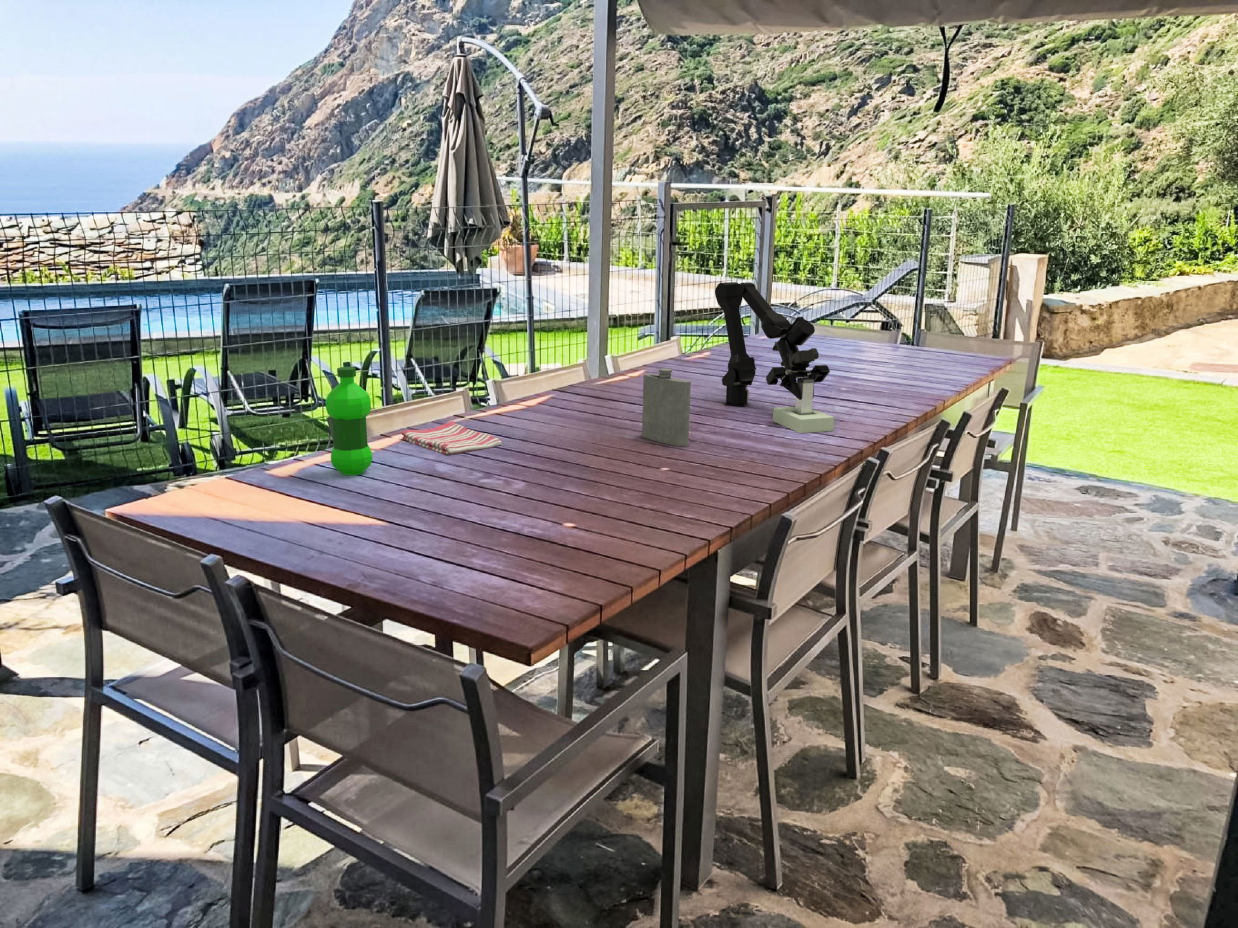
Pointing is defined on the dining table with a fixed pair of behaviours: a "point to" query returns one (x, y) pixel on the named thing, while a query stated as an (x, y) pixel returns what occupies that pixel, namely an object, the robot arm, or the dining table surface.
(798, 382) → the pale grey square post
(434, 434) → the dish towel
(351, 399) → the plastic bottle
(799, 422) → the post foot
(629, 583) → the dining table surface
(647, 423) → the hip flask
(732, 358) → the robot arm
